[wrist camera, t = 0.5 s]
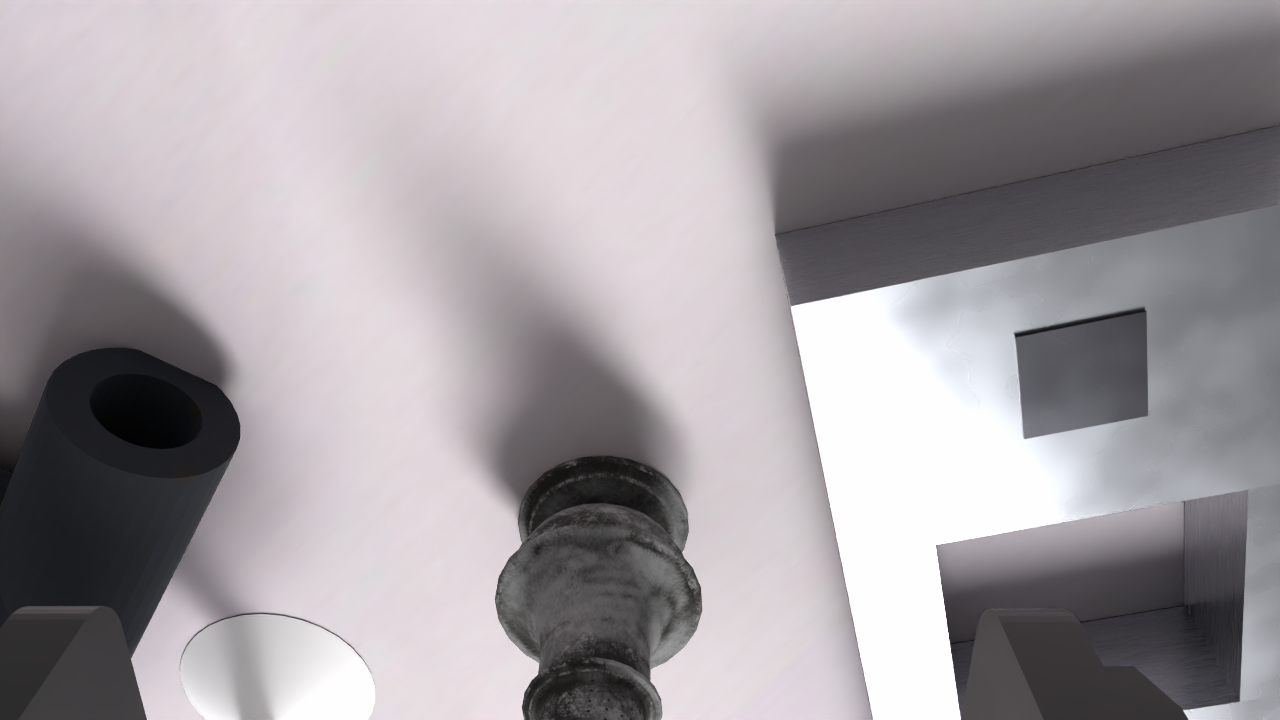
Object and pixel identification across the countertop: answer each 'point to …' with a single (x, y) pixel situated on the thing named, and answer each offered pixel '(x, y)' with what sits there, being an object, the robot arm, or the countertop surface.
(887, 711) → the gray slotted block
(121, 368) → the pipe connector
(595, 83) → the countertop surface
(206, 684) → the champagne flute
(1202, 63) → the countertop surface
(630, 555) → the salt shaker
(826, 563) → the countertop surface
